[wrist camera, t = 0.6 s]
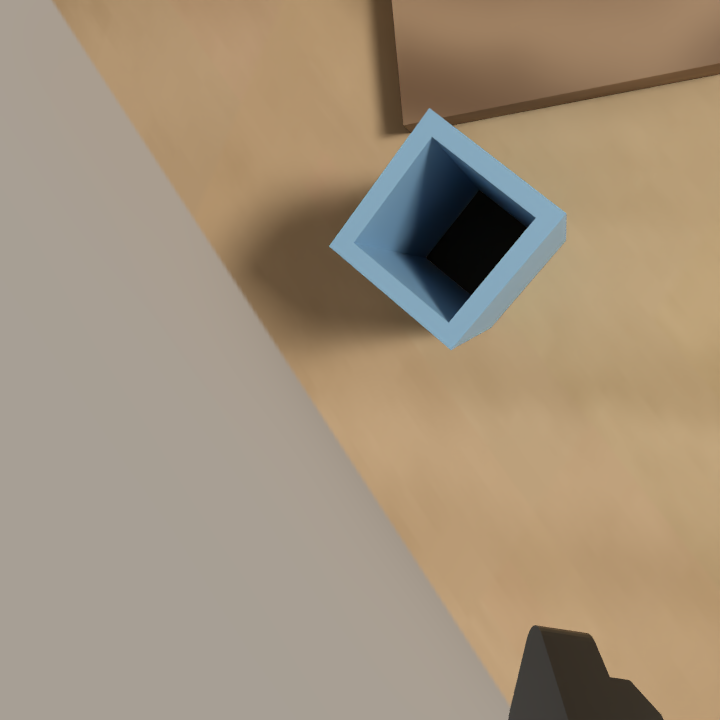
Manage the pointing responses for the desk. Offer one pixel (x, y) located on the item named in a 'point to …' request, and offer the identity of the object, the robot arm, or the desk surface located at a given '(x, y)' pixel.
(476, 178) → the sleeve
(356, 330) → the desk surface
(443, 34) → the peg board
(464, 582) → the desk surface
